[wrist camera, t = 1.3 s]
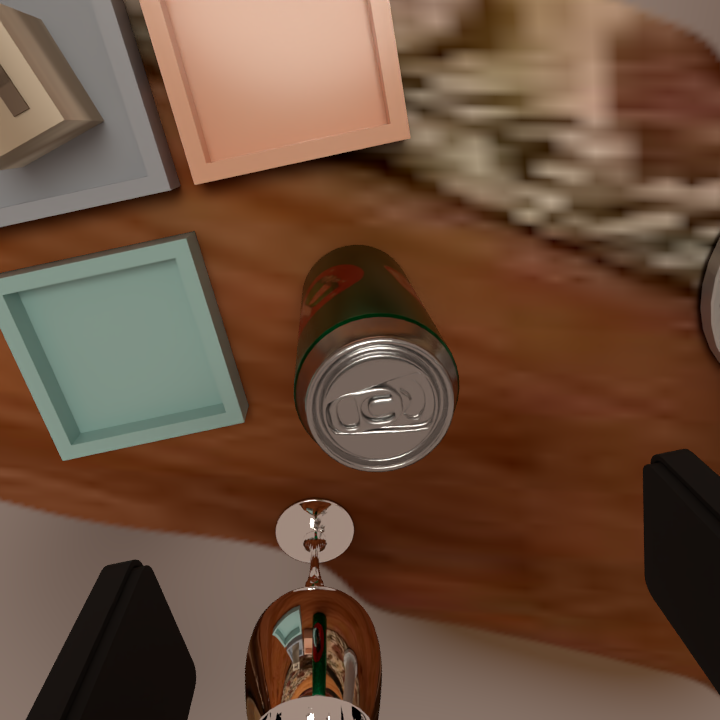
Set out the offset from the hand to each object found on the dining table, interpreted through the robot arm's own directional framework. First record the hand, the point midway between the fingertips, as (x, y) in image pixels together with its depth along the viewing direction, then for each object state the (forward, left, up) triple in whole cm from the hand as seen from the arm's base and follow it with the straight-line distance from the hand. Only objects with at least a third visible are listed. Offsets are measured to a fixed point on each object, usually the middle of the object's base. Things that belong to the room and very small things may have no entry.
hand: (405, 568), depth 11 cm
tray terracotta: (+1, -11, -18) cm, 21 cm away
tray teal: (+11, 0, -18) cm, 21 cm away
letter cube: (+11, -11, -18) cm, 23 cm away
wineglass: (+5, +13, -18) cm, 23 cm away
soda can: (0, 0, -18) cm, 18 cm away
